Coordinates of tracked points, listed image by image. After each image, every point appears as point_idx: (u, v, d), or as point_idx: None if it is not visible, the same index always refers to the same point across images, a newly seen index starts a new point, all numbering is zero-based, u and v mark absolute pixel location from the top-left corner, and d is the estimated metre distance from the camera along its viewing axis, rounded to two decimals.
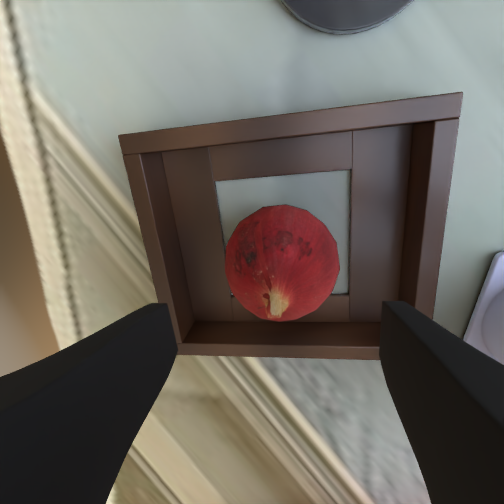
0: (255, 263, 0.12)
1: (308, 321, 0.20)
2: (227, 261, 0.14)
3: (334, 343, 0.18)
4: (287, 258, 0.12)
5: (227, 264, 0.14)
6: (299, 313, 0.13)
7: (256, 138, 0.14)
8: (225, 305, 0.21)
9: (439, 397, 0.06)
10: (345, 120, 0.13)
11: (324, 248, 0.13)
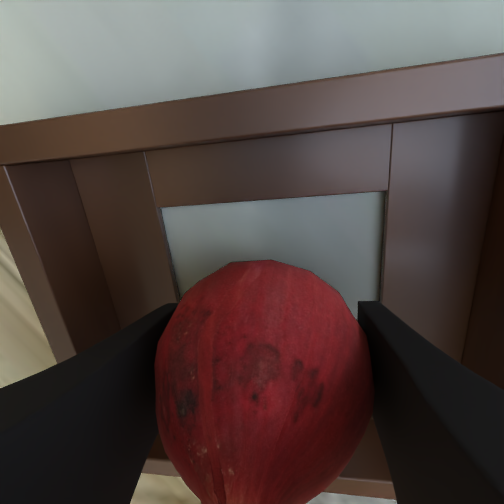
0: (194, 423, 0.05)
1: None
2: (155, 377, 0.07)
3: (354, 471, 0.11)
4: (267, 420, 0.05)
5: (155, 383, 0.07)
6: None
7: (212, 137, 0.07)
8: None
9: (400, 395, 0.06)
10: (393, 99, 0.06)
11: (349, 375, 0.06)
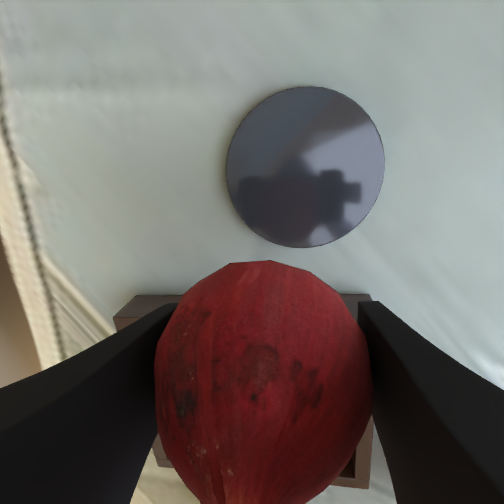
0: (193, 424, 0.05)
1: None
2: (154, 377, 0.07)
3: None
4: (266, 421, 0.05)
5: (155, 384, 0.07)
6: None
7: None
8: None
9: (400, 395, 0.06)
10: None
11: (348, 376, 0.06)
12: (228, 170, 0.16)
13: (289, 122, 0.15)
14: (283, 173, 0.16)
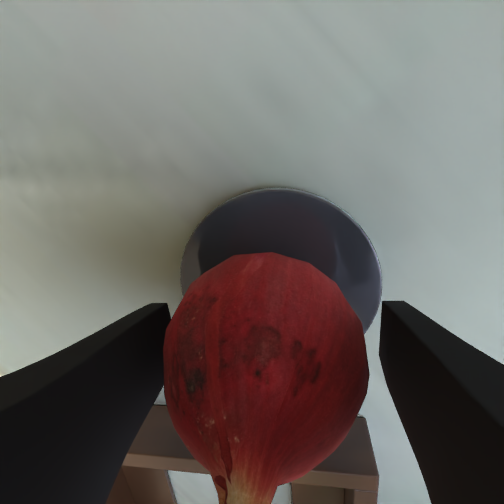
0: (202, 398, 0.06)
1: None
2: (163, 361, 0.08)
3: None
4: (269, 394, 0.05)
5: (164, 367, 0.08)
6: None
7: (183, 470, 0.14)
8: None
9: (439, 397, 0.06)
10: None
11: (344, 357, 0.06)
12: (183, 281, 0.13)
13: (257, 231, 0.11)
14: None
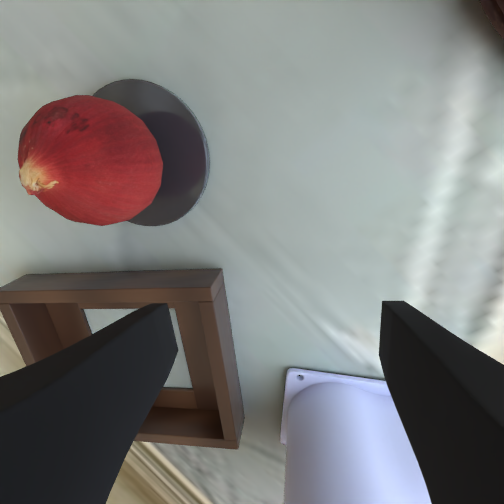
0: (23, 139, 0.11)
1: (168, 407, 0.25)
2: None
3: (173, 432, 0.23)
4: (52, 130, 0.11)
5: None
6: (89, 203, 0.12)
7: (85, 301, 0.19)
8: None
9: (439, 397, 0.06)
10: (141, 297, 0.18)
11: (110, 130, 0.12)
12: None
13: None
14: None
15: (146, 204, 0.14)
